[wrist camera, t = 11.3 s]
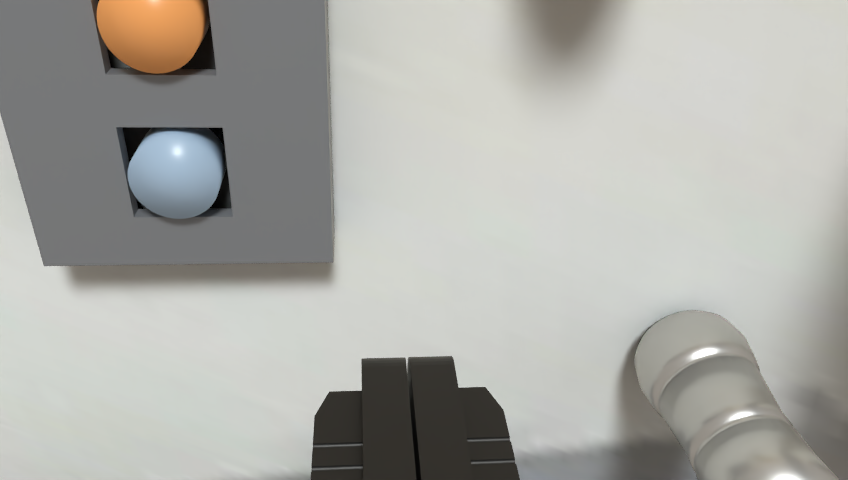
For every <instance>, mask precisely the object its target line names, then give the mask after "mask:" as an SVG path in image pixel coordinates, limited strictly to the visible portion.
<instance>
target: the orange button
mask: <svg viewBox="0 0 848 480" xmlns="http://www.w3.org/2000/svg"><path fill="white" fill-rule="evenodd" d="M209 23H210V14H209V5H208V0H99V3H98V6H97V24H98V28H99V32H100V34H101V37H102V39H103V41H104V42H105V44H106V46H107V47H108V48H109V50H110V51H111V52H112V53H113V54H114V55H115V56H116V57H117V58H118V59H119V60H121V61H122V62H123V63H125V64H126V65H128V66H130V67H132V68H134V69H136V70H139V71H142V72H147V73H155V74H159V73H168V72H171V71H174V70H177V69H179V68H181V67H182V66H184V65H185V64H186V63H187V62H188V61H190V59H191V58H192V57H193V56H194V54H195V52H196V50H197V49H198V47H199V45H200V44H201V42H202V40H203V38H204V37H205V35H206V33H207V30H208V28H209Z"/></svg>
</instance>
